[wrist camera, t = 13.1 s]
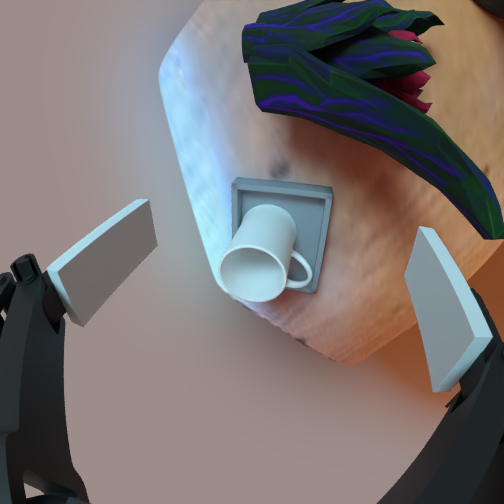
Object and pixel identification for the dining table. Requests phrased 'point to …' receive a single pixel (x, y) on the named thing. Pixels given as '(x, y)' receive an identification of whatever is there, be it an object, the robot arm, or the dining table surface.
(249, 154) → the dining table surface
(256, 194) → the slate tray
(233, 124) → the dining table surface
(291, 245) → the mug
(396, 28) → the decorative plant
